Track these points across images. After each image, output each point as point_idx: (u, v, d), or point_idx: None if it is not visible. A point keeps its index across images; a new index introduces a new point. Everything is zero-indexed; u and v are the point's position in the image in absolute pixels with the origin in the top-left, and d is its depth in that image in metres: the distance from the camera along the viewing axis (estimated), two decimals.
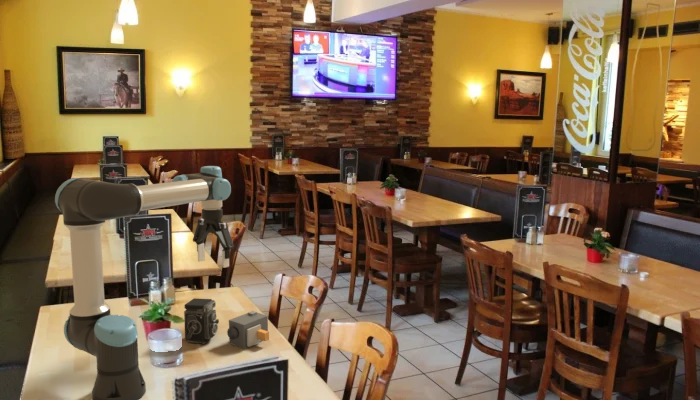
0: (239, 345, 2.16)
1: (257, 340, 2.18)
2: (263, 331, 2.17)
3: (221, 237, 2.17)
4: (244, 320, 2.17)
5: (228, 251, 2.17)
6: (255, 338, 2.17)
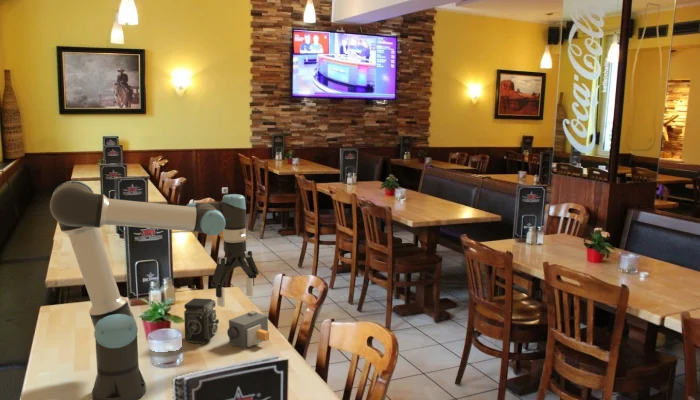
0: (239, 345, 2.16)
1: (257, 340, 2.18)
2: (263, 331, 2.17)
3: (222, 272, 1.98)
4: (244, 320, 2.17)
5: (217, 289, 1.96)
6: (255, 338, 2.17)
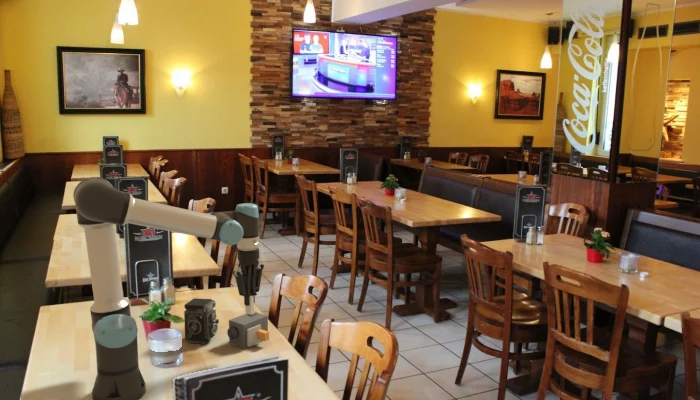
0: (239, 345, 2.16)
1: (257, 340, 2.18)
2: (263, 331, 2.17)
3: (244, 282, 2.06)
4: (244, 320, 2.17)
5: (245, 298, 2.07)
6: (255, 338, 2.17)
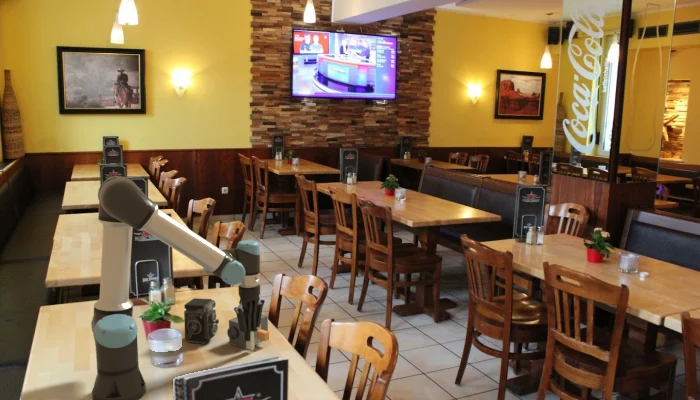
0: (239, 345, 2.16)
1: (257, 340, 2.18)
2: (263, 331, 2.17)
3: (245, 318, 2.08)
4: None
5: (246, 333, 2.09)
6: (255, 338, 2.17)
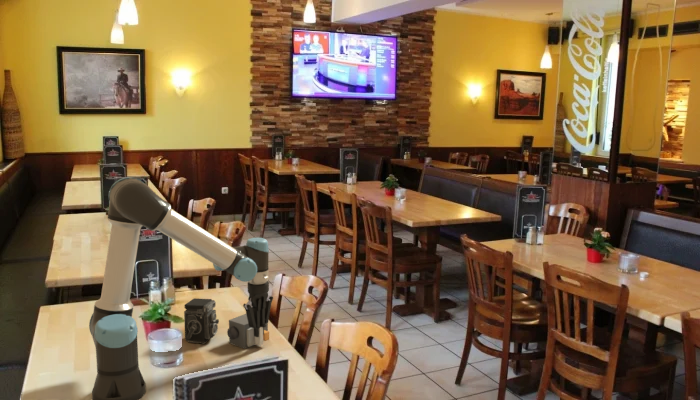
0: (239, 345, 2.16)
1: None
2: None
3: (253, 314, 2.12)
4: (244, 320, 2.17)
5: (255, 329, 2.12)
6: None
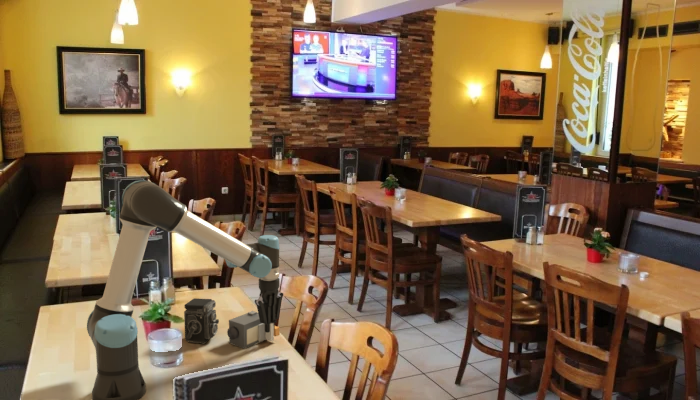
0: (239, 345, 2.16)
1: None
2: None
3: (264, 310, 2.16)
4: (244, 320, 2.17)
5: (266, 325, 2.17)
6: None
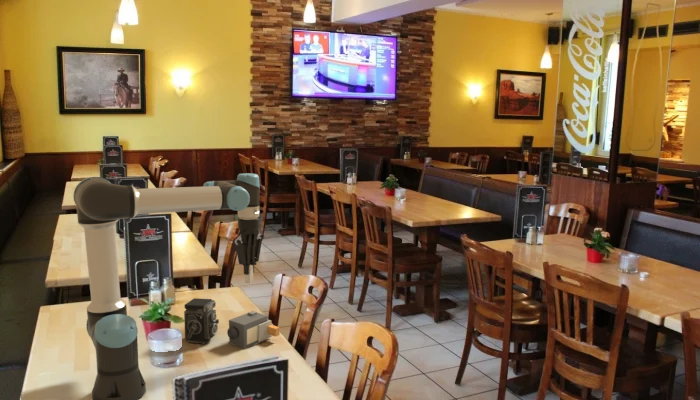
0: (239, 345, 2.16)
1: (268, 335, 2.22)
2: (273, 326, 2.21)
3: (244, 251, 2.09)
4: (244, 320, 2.17)
5: (245, 267, 2.09)
6: (266, 333, 2.21)
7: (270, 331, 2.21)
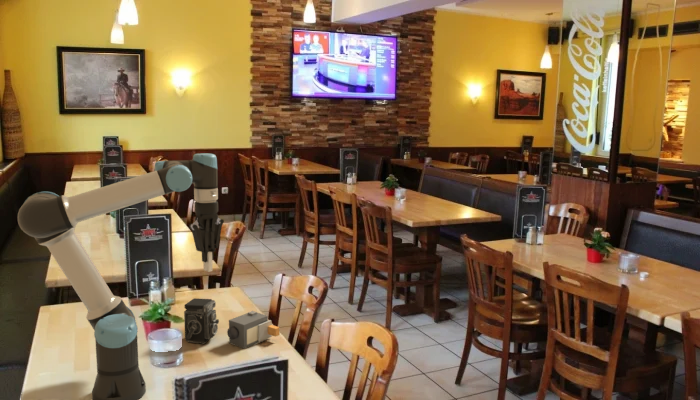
0: (239, 345, 2.16)
1: (268, 335, 2.22)
2: (273, 326, 2.21)
3: (201, 237, 1.95)
4: (244, 320, 2.17)
5: (203, 254, 1.95)
6: (266, 333, 2.21)
7: (270, 331, 2.21)
